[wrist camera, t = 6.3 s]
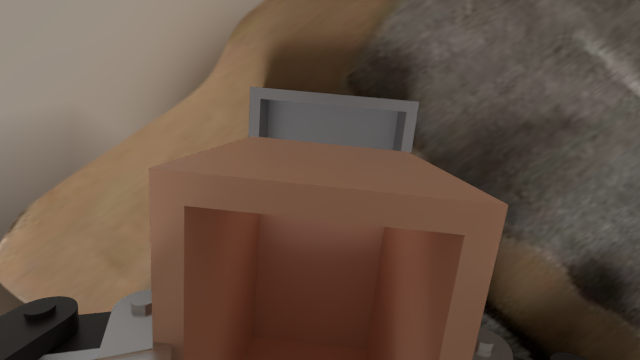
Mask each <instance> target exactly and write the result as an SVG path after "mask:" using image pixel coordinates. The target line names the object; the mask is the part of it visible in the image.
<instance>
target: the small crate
mask: <svg viewBox="0 0 640 360" xmlns="http://www.w3.org/2000/svg"><path fill="white" fill-rule="evenodd" d="M149 195H150V241H151V287H152V333H153V342H160V343H169V344H172V358H173V360H472V358H473V354H474V350H475V346H476V341H477V337H478V333H479V329H480V324H481V320H482V316H483V312H484V307H485V303H486V299H487V295H488V290H489V286H490V282H491V278H492V273H493V269H494V265H495V261H496V256H497V252H498V248H499V244H500V239H501V235H502V231H503V227H504V222H505V218H506V214H507V210H508V204H506V203H504V202H502V201H500V200H498V199H496V198H495V197H493V196H491V195H489V194H487V193H485V192H483V191H481V190H479V189H478V188H476V187H474V186H472V185H470V184H468V183H466V182H464V181H462V180H461V179H459V178H457V177H455V176H453V175H451V174H449V173H447V172H445V171H444V170H442V169H440V168H438V167H436V166H434V165H432V164H430V163H428V162H427V161H425V160H423V159H421V158H419V157H417V156H415V155H413V154H411V153H410V152H405V151H395V150H385V149H375V148H365V147H355V146H345V145H335V144H325V143H316V142H306V141H296V140H286V139H276V138H266V137H256V136H251V137H248V138H245V139H242V140H238V141H235V142H232V143H229V144H225V145H222V146H219V147H216V148H212V149H209V150H206V151H203V152H199V153H196V154H193V155H190V156H186V157H183V158H180V159H177V160H173V161H170V162H167V163H164V164H160V165H157V166H154V167H151V168H149Z"/></svg>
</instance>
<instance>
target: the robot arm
mask: <svg viewBox="0 0 640 360" xmlns="http://www.w3.org/2000/svg"><path fill="white" fill-rule="evenodd" d="M0 360H173V358H172V344H169V343H160V342H153V333H152V290H144V291H139V292H136V293H133V294H130V295H128V296H126V297H124V298H122V299H121V300H119V301H118V302H117V303H116V304H115V305H114V307H113V309H112V312H104V313H94V314H83V315H78V304H77V302H76V301H75V300H74V299H72V298H69V297H61V296H58V297H48V298H43V299H38V300H35V301H32V302H29V303H26V304H24V305H21V306H19V307H17V308H15V309H13V310H11V311H10V312H8V313H6V314H4V315H2V316H0ZM472 360H523V359H520V358H517V357H515V356H513V353H512V350H511V348H510V346H509V345H508V343H507V342H506V341H505V340H504V339H502V338H501V337H500V336H499V335H497V334H496V333H494V332H492V331H491V330H488V329H486V328H484V327H481V326H480V329H479V333H478V337H477V341H476V346H475V350H474V354H473V358H472ZM550 360H588V359H586V358H583V357H581V356H578V355H574V354H570V353H563V352H559V353H555V354H553V355H552V356H551V358H550Z"/></svg>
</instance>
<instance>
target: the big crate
mask: <svg viewBox="0 0 640 360" xmlns="http://www.w3.org/2000/svg"><path fill="white" fill-rule="evenodd" d="M418 106H419V102H416V101H405V100H394V99H383V98H371V97H360V96H349V95H338V94H327V93H316V92H305V91H293V90H282V89H271V88H260V87H250V111H249V137H251V136H256V137H266V138H276V139H286V140H296V141H306V142H316V143H325V144H335V145H345V146H355V147H365V148H375V149H385V150H395V151H405V152H410V153H411V152H412V145H413V139H414V132H415V126H416V119H417V113H418Z"/></svg>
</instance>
